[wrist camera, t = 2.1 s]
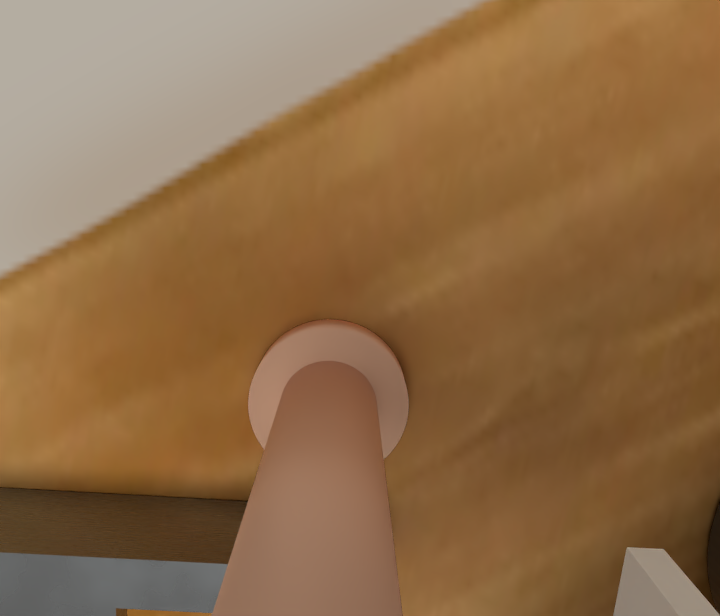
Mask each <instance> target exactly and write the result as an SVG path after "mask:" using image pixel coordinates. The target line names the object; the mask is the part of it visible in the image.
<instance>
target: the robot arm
mask: <svg viewBox="0 0 720 616" xmlns="http://www.w3.org/2000/svg"><path fill="white" fill-rule="evenodd" d="M708 577H709V583H710V589H711V593H712V597H713V600H714V603H715V605H716V608H717V610H718V612H717V611H716V610H715V609H714V608H713V606H712V605H711V604H710V603H709V602H708V600H707V599H706V598H705V597H704V596H703V595H702V593H701V592H700V591H699V590H698V589H697V588H696V586H695V585H694V584H693V583H692V582H691V581H690V579H689V578H688V577H687V576H686V575H685V574H684V572H683V571H682V570H681V569H680V568H679V566H678V565H677V564H676V563H675V562H674V561H673V559H672V558H671V557H670V556H669V555H668V554H667V552H666V551H665V550H664V549H654V548H633V547H627V549H626V554H625V559H624V564H623V569H622V574H621V579H620V584H619V589H618V594H617V599H616V604H615V609H614V614H613V616H720V504H719V506H718V509H717V512H716V515H715V517H714V521H713V525H712V528H711V533H710V539H709V546H708Z"/></svg>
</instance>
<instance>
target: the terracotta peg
mask: <svg viewBox="0 0 720 616" xmlns="http://www.w3.org/2000/svg"><path fill="white" fill-rule="evenodd" d="M248 412H249V418H250V422H251V425H252V429H253V431H254V433H255V436H256V438H257V440H258V441H259V443H260V444H261V446H262V447H263V449H264V452H263V456H262V459H261V462H260V465H259V468H258V471H257V474H256V478H255V481H254V484H253V487H252V490H251V493H250V497H249V500H248V503H247V506H246V509H245V512H244V515H243V519H242V522H241V525H240V528H239V531H238V534H237V537H236V541H235V544H234V547H233V550H232V553H231V556H230V560H229V563H228V566H227V569H226V572H225V575H224V578H223V582H222V585H221V588H220V591H219V594H218V597H217V600H216V604H215V607H214V610H213V613H212V616H403V614H402V606H401V598H400V590H399V581H398V573H397V565H396V557H395V549H394V540H393V532H392V524H391V516H390V508H389V499H388V491H387V483H386V475H385V467H384V459H385V458H386V457H387V456H388V455H389V454H390V453H391V452H392V450H393V449H394V448H395V446H396V445H397V443H398V442H399V440H400V438H401V436H402V434H403V432H404V429H405V426H406V423H407V418H408V412H409V398H408V391H407V387H406V383H405V379H404V376H403V372H402V369H401V366H400V364H399V362H398V360H397V358H396V356H395V354H394V353H393V351H392V350H391V349H390V347H389V346H388V345H387V344H386V343H385V342H384V341H383V340H382V339H381V338H380V337H379V336H377V335H376V334H375V333H373V332H372V331H370V330H368V329H366V328H365V327H363V326H360V325H358V324H355V323H352V322H348V321H343V320H336V319H324V320H316V321H311V322H307V323H304V324H302V325H299V326H297V327H294V328H293V329H291V330H289V331H287V332H286V333H285V334H283V335H282V336H281V337H279V338H278V339H277V340H276V341H275V342H274V343H273V344H272V345H271V347H270V348H269V349H268V350H267V352H266V353H265V355H264V357H263V359H262V360H261V362H260V364H259V366H258V368H257V370H256V372H255V375H254V377H253V380H252V382H251V386H250V390H249V398H248Z"/></svg>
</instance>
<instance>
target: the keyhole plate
mask: <svg viewBox="0 0 720 616" xmlns="http://www.w3.org/2000/svg"><path fill="white" fill-rule="evenodd" d="M247 503H248V501H232V500H213V499H195V498H177V497H159V496H141V495H123V494H105V493H87V492H69V491H50V490H32V489H14V488H0V616H127V609H142V610H162V611H183V612H203V613H213V610H214V607H215V604H216V600H217V597H218V594H219V591H220V588H221V585H222V582H223V578H224V575H225V572H226V569H227V566H228V563H229V560H230V556H231V553H232V550H233V547H234V544H235V541H236V537H237V534H238V531H239V528H240V525H241V522H242V519H243V515H244V512H245V509H246V506H247Z"/></svg>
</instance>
